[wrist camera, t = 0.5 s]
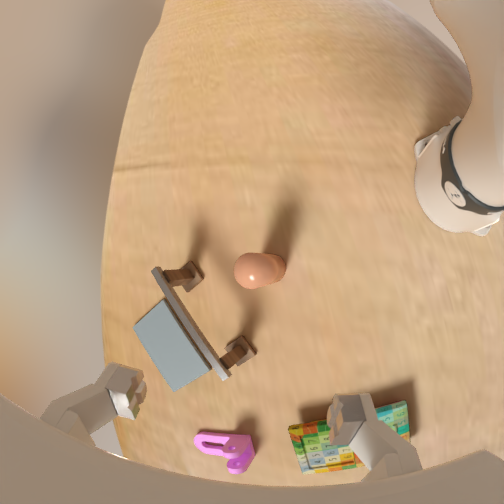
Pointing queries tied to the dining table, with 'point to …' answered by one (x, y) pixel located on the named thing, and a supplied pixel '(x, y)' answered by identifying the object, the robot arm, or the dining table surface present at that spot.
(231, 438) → the bracket
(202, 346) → the metal bar
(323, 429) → the puzzle game
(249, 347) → the hurdle posts
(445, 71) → the dining table surface
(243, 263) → the terracotta cylinder
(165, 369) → the pad
